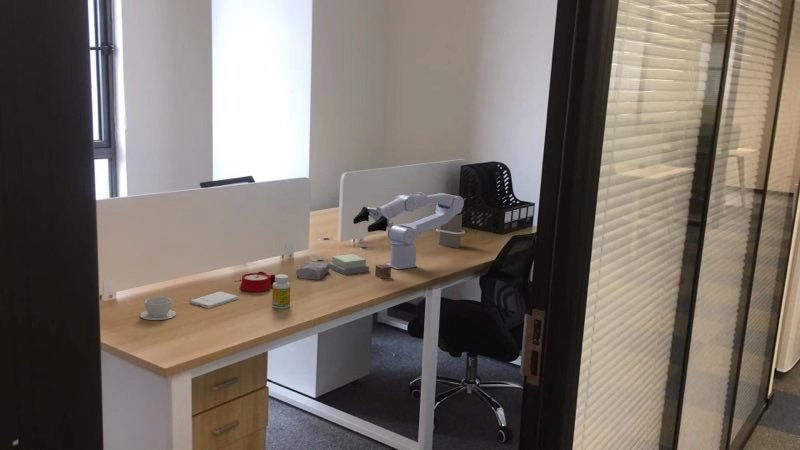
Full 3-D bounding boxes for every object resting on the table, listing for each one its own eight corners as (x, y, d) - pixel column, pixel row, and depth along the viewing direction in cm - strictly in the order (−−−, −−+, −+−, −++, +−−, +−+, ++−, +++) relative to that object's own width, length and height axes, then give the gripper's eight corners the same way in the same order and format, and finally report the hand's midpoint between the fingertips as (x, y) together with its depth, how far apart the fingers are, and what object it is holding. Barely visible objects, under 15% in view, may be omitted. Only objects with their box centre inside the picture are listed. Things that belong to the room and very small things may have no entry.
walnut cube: (384, 274, 267) (384, 264, 266) (390, 277, 264) (391, 266, 263) (375, 276, 264) (375, 265, 263) (381, 278, 261) (381, 268, 260)
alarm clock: (230, 278, 239) (262, 260, 251) (233, 295, 242) (264, 276, 253) (253, 284, 234) (284, 266, 245) (256, 302, 236) (287, 282, 247)
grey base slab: (352, 265, 279) (353, 259, 279) (368, 272, 270) (368, 266, 270) (328, 269, 273) (328, 262, 272) (343, 276, 264) (343, 269, 264)
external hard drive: (238, 300, 230) (208, 310, 219) (219, 295, 234) (189, 304, 224) (238, 296, 229) (208, 305, 219) (219, 290, 234) (189, 299, 223)
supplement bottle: (279, 310, 221) (280, 279, 219) (268, 305, 225) (269, 275, 223) (293, 306, 225) (294, 276, 223) (282, 302, 229) (283, 272, 227)
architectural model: (433, 238, 332) (435, 206, 329) (484, 246, 321) (487, 214, 318) (414, 246, 315) (416, 212, 312) (467, 255, 304) (469, 220, 301)
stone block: (294, 282, 257) (321, 280, 255) (292, 269, 257) (319, 266, 255) (305, 275, 269) (331, 272, 267) (303, 262, 268) (329, 260, 266)
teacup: (180, 318, 210) (180, 303, 209) (145, 323, 204) (144, 307, 204) (170, 308, 218) (170, 293, 217) (136, 313, 213) (135, 297, 212)
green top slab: (352, 260, 277) (352, 253, 277) (365, 265, 270) (365, 259, 270) (332, 262, 272) (332, 256, 272) (344, 268, 265) (345, 262, 264)
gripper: (374, 195, 272) (347, 208, 264) (402, 209, 263) (374, 223, 255) (375, 211, 276) (348, 224, 268) (402, 226, 267) (374, 240, 259)
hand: (361, 225), depth 262 cm, fingers open, 7 cm apart
